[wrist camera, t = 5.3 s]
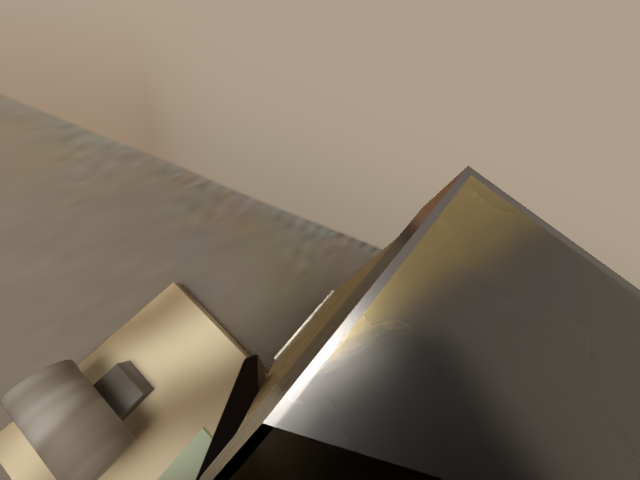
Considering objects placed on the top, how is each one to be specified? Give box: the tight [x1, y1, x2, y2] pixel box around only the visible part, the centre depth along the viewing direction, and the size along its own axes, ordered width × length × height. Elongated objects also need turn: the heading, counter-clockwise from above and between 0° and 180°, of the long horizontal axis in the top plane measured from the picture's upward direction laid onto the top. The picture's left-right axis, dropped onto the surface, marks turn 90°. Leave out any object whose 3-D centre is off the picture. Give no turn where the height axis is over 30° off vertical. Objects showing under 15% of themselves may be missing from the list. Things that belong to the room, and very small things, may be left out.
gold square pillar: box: [199, 166, 640, 480], centre depth 8 cm, size 5×5×13 cm
